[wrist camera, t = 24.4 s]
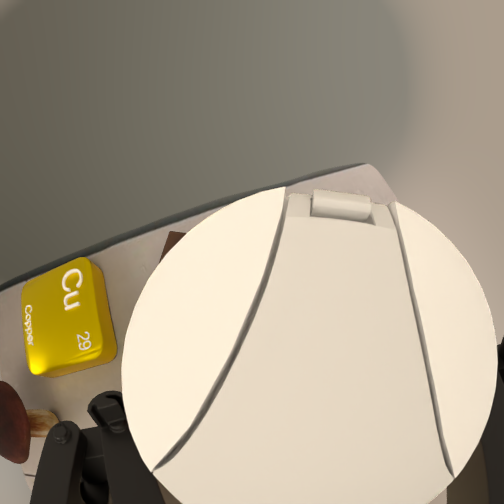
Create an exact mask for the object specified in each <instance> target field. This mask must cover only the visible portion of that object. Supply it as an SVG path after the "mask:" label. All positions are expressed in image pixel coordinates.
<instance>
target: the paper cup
mask: <svg viewBox="0 0 504 504" xmlns="http://www.w3.org/2000/svg"><path fill="white" fill-rule="evenodd" d="M285 193H286V187H281V188H276V189H272V190H267V191H263V192H260V193H257V194H254V195H252V196H249V197H246V198H244V199H241V200H238V201H236V202H234V203H232V204H230V205H228V206H227V207H225V208H223V209H221V210H219V211H217V212H216V213H214V214H212V215H210V216H209V217H208V218H206V219H205V220H204V221H202V222H201V223H200V224H198V225H197V226H196V227H194V228H193V229H192V230H190V231H189V232H188V233H187V234H186V235H185V236H184V237H183V238H182V239H181V240H180V241H179V242H178V243H177V244H176V245H175V246H174V247H173V248H172V249H171V250H170V251H169V252H168V253H167V254H166V255H165V257H164V258H163V260H162V261H161V262H160V264H159V265H158V266H157V268H156V269H155V271H154V272H153V273H152V275H151V276H150V278H149V279H148V281H147V283H146V285H145V287H144V289H143V291H142V293H141V295H140V297H139V299H138V301H137V303H136V305H135V307H134V310H133V314H132V317H131V320H130V323H129V326H128V330H127V333H126V336H125V343H124V350H123V358H122V366H121V373H122V397H123V403H124V408H125V412H126V417H127V421H128V425H129V429H130V432H131V434H132V437H133V439H134V442H135V444H136V446H137V449H138V451H139V453H140V455H141V458H142V460H143V461H144V463H145V464H146V466H147V467H148V469H149V470H150V472H153V475H154V476H155V477H156V478H157V479H158V480H159V481H160V482H161V483H162V485H163V486H164V487H165V488H166V489H167V490H168V491H169V492H170V493H171V494H172V495H174V496H175V497H176V498H177V499H178V500H179V501H180V502H181V503H182V504H428V503H429V502H430V501H431V500H433V499H434V498H435V497H436V496H437V495H438V494H439V493H441V492H442V491H443V490H444V489H445V488H446V487H447V486H448V485H449V484H450V483H451V482H452V481H453V479H454V478H456V477H457V476H458V474H459V473H460V472H461V471H462V469H463V468H464V467H465V465H466V463H467V462H468V460H469V458H470V457H471V455H472V453H473V452H474V450H475V448H476V446H477V445H478V443H479V440H480V438H481V436H482V433H483V431H484V428H485V426H486V423H487V421H488V418H489V415H490V411H491V407H492V403H493V399H494V394H495V389H496V379H497V366H498V358H497V343H496V334H495V329H494V324H493V320H492V316H491V311H490V308H489V305H488V303H487V300H486V297H485V295H484V292H483V290H482V287H481V285H480V283H479V281H478V279H477V278H476V276H475V274H474V272H473V271H472V269H471V267H470V265H469V264H468V262H467V261H466V260H465V258H464V257H463V256H462V255H461V253H460V252H459V251H458V249H457V248H456V247H455V246H454V244H453V243H452V242H451V241H450V240H449V239H448V238H447V237H446V236H444V235H443V233H442V232H441V231H440V230H439V229H438V228H436V227H435V226H434V225H433V224H431V223H430V222H429V221H427V220H426V219H424V218H423V217H422V216H420V215H419V214H418V213H416V212H415V211H413V210H411V209H409V208H407V207H406V206H404V205H402V204H400V203H398V202H396V201H395V202H393V201H392V202H391V203H390V204H389V205H388V207H387V206H386V205H382V204H376V203H371V200H370V198H369V196H365V195H358V194H351V193H344V192H336V191H328V190H320V189H313V195H307V194H298V193H291V194H290V197H285Z"/></svg>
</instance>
